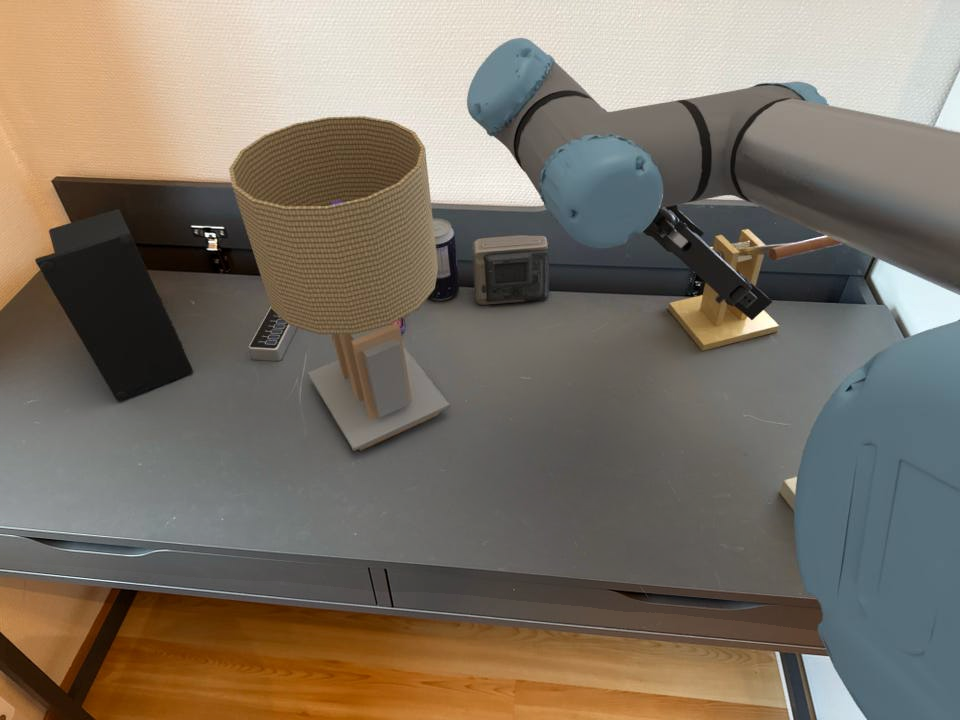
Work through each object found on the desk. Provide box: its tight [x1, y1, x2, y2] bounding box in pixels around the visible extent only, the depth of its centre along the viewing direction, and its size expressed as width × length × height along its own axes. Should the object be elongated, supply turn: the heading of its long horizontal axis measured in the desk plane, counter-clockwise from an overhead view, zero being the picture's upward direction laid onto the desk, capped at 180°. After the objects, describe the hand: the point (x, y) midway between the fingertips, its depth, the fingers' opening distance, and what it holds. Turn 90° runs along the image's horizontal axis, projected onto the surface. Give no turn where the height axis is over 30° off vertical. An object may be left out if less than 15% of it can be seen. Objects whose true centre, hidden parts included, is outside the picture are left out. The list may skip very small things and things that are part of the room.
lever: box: [731, 235, 844, 262], centre depth 88 cm, size 16×9×2 cm
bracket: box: [667, 228, 780, 352], centre depth 98 cm, size 10×12×14 cm
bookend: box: [34, 208, 194, 402], centre depth 98 cm, size 23×11×24 cm, turn 31°
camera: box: [471, 234, 550, 306], centre depth 106 cm, size 11×6×10 cm, turn 92°
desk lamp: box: [228, 115, 451, 452], centre depth 82 cm, size 20×20×35 cm
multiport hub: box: [248, 306, 298, 362], centre depth 106 cm, size 4×14×2 cm, turn 172°
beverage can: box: [428, 218, 460, 301], centre depth 107 cm, size 6×6×12 cm
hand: (725, 272), depth 77 cm, fingers open, 13 cm apart
